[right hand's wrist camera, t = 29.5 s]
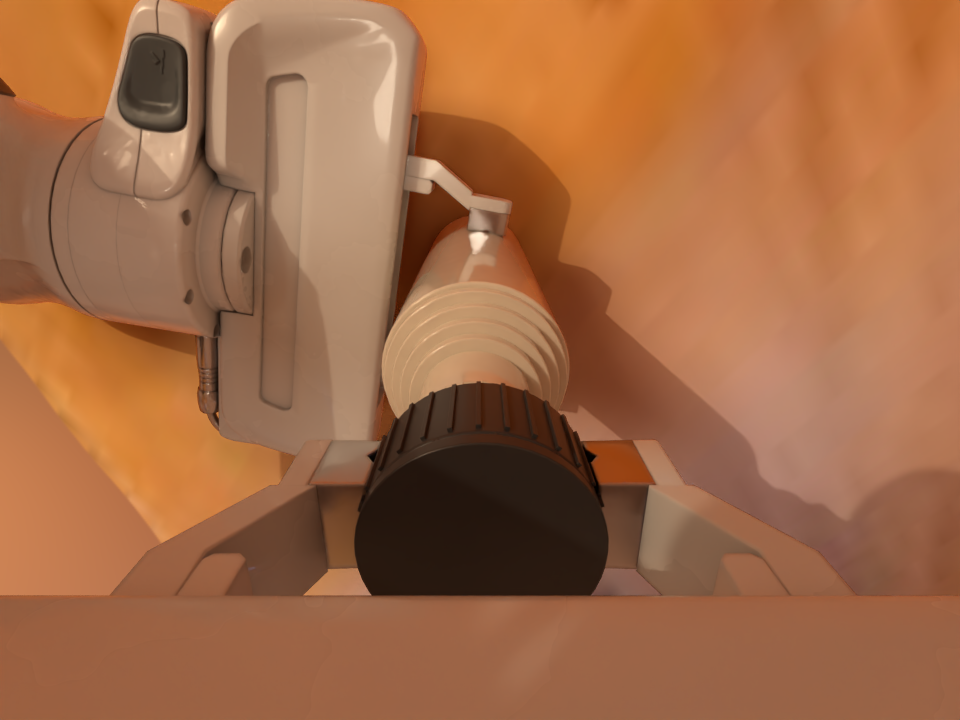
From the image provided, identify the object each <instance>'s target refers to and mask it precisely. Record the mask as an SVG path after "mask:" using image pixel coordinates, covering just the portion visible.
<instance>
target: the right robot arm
mask: <svg viewBox="0 0 960 720" xmlns="http://www.w3.org/2000/svg"><path fill="white" fill-rule="evenodd" d="M380 443H381V441H368V440H332V439H328V440H308V441H306V442H305V443H304V445H303V446H302V448H301V449H300V451H299V453H298V454H297V456H296V457H295V459H294V460H293V462H292V464H291V465H290V467H289V468H288V470H287V472H286V473H285V475H284V476H283V478H282V480H281V481H280V483H279V484H278V485H270V486H268V487H266V488H264V489H262V490H260V491H259V492H257V493H255V494H253V495H251V496H249V497H247V498H246V499H244V500H242V501H240V502H238V503H236V504H234V505H233V506H231V507H229V508H227V509H225V510H223V511H221V512H219V513H218V514H216V515H214V516H212V517H210V518H208V519H206V520H205V521H203V522H201V523H199V524H197V525H195V526H193V527H191V528H190V529H188V530H186V531H184V532H182V533H180V534H178V535H177V536H175V537H173V538H171V539H169V540H167V541H165V542H164V543H162V544H160V545H158V546H156V547H154V548H152V549H150V550H149V551H147V552H146V553H145V554H144V556H143V557H142V558H141V559H140V560H139V561H138V563H137V564H136V565H135V566H134V567H133V569H132V570H131V571H130V572H129V573H128V574H127V576H126V577H125V578H124V579H123V580H122V581H121V583H120V584H119V585H118V586H117V587H116V588H115V590H114V591H113V592H112V593H111V594H110V595H109V596H0V720H960V596H857V595H856V594H855V593H854V591H853V590H852V589H851V588H850V587H849V586H848V585H847V583H846V582H845V581H844V580H843V579H842V578H841V576H840V575H839V574H838V573H837V572H836V571H835V569H834V568H833V567H832V566H831V565H830V564H829V563H828V561H827V560H826V559H825V558H824V557H823V556H822V554H821V553H820V552H819V551H817V550H815V549H813V548H811V547H809V546H807V545H805V544H804V543H802V542H800V541H798V540H796V539H794V538H792V537H790V536H789V535H787V534H785V533H783V532H781V531H779V530H777V529H775V528H774V527H772V526H770V525H768V524H766V523H764V522H762V521H760V520H759V519H757V518H755V517H753V516H751V515H749V514H747V513H745V512H744V511H742V510H740V509H738V508H736V507H734V506H732V505H730V504H729V503H727V502H725V501H723V500H721V499H719V498H717V497H715V496H714V495H712V494H710V493H708V492H706V491H704V490H702V489H700V488H699V487H697V486H695V485H686V484H685V482H684V480H683V479H682V477H681V476H680V474H679V473H678V471H677V470H676V468H675V467H674V465H673V464H672V462H671V460H670V459H669V457H668V456H667V454H666V453H665V451H664V450H663V448H662V447H661V445H660V444H659V442H658V441H656V440H654V439H648V440H611V441H581V444H582V447H583V450H584V452H585V455H586V458H587V461H588V462H589V464H590V469H591V472H592V475H593V477H594V480H595V483H596V486H594V488H595V491H596V494H597V497H602V500H603V503H604V507H602V511H603V514H604V517H605V520H606V524H607V529H608V536H609V550H608V556H607V562H606V566H605V568H624V569H637V570H636V571H637V572H638V573H639V574H640V575H641V576H642V577H643V578H644V579H645V580H646V581H648V582H649V583H650V584H651V585H652V586H653V587H654V588H655V589H656V590H657V591H658V592H659V593H660V594H661V595H662V596H303V595H304V594H305V593H306V592H307V591H308V590H309V589H310V588H311V587H312V586H313V585H314V584H315V583H316V582H317V581H318V580H319V579H320V578H321V577H322V576H323V575H324V574H325V573H326V572H328V570H327V569H340V568H358V567H357V562H356V558H355V551H354V536H355V527H356V524H357V520H358V517H359V514H360V512H358V511H357V510H358V506H359V503H360V501H363V502H364V499H365V496H366V493H367V491H366V490H364V489H365V486H366V483H367V480H368V477H369V475H370V472H371V469H372V466H373V463H374V460H375V457H376V454H377V452H378V449H379V446H380Z"/></svg>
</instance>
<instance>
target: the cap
mask: <svg viewBox="0 0 960 720" xmlns="http://www.w3.org/2000/svg"><path fill="white" fill-rule="evenodd" d="M594 486H596V483H595V480H594V477H593V475H592V472H591V469H590V464H589V462H588V461H587V458H586V455H585V452H584V450H583V447H582V444H581V441H580V438H579V436H578V433H577V431H575V432H573V430H572V429H571V427H570V426H569V424H568V422H567V419H566V416H565V415H564V414H563V415H560V414H559V413H558V412H557V411H556V410H555V409H554V408H553V407H551V406H550V404H549V402H548V401H547V400H545V401H543V400H541V399H540V398H538V397H536V396H535V395H532V394H530V393H529V391H528V390H526V389H524V391H523V390H521V389H517V388H514V387H511V386H507V385H506V384H505V383H501V384H497V383H481V381H476V383H468V384H461V385H457V384H452V386H451V387H448V388H444V389H441V390H439V391H437V392H433V391H432V392H430V393H429V395H428V396H426V397H424V398H423V399H421V400H419V401H418V402H416V403H415V404H414V403H411V404H410V405H409V408H408V409H407V410H406V411H405V412H404V413H403V414H402V415H401V416H400V417H399V418H395V419H394V420H393V423H392V426H391V429H390V431H389V432H388V434H387V436H385V435H383V437H382V440H381V443H380V446H379V449H378V452H377V454H376V457H375V460H374V463H373V466H372V469H371V472H370V475H369V477H368V480H367V483H366V486H365V489H364V490H366V491H367V493H366V496H365V499H364V502H363V501H360V503H359V506H358V510H357V511H358V512H360V514H359V517H358V520H357V524H356V527H355V536H354V551H355V558H356V562H357V567H358V570H359V572H360V575H361V578H362V580H363V582H364V584H365V585H366V587H367V589H368V591H369V592H370V594H371V595H372V596H591V594H592V593H593V591H594V590H595V589H596V587H597V585H598V583H599V581H600V579H601V577H602V574H603V572H604V569H605V566H606V562H607V556H608V550H609V536H608V529H607V524H606V520H605V517H604V514H603V511H602V507H604V503H603V500H602V497H597V494H596V491H595V488H594Z"/></svg>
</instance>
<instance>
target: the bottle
mask: <svg viewBox="0 0 960 720" xmlns="http://www.w3.org/2000/svg"><path fill="white" fill-rule="evenodd" d="M468 219H469V216H465V217H461V218H459V219H456V220H454V221H453V222H451V223H449V224H448V225H447V226H445V227H444V228H443V229H442V230H441V232H440V233H439V234H438V236H437V237H436V239H435V241H434V243H433V245H432V247H431V249H430V251H429V253H428V255H427V257H426V259H425V261H424V263H423V265H422V267H421V269H420V271H419V273H418V275H417V277H416V279H415V281H414V283H413V285H412V288H411V290H410V292H409V294H408V296H407V298H406V300H405V302H404V304H403V306H402V308H401V310H400V312H399V314H398V316H397V318H396V320H395V322H394V324H393V326H392V328H391V330H390V333H389V335H388V337H387V340H386V342H385V346H384V350H383V355H382V365H381V366H382V379H383V385H384V389H385V392H386V395H387V398H388V401H389V404H390V406H391V408H392V410H393V412H394V414H395V415H396V417H397V418H399V417H400V416H401V415H402V414H403V413H404V412H405V411H406V410H407V409H408V408H409V405H410V404H411V403H414V404H415V403H416V402H418V401H419V400H421V399H423V398H424V397H426V396H428V395H429V393H430V392H432V391H433V392H437V391H439V390H441V389H444V388H448V387H451V386H452V384H457V385H461V384H468V383H476V381H481V383H497V384H501V383H505V384H506V385H507V386H511V387H514V388H517V389H521V390H523V391H524V389H526V390H528V391H529V393H530V394H532V395H535V396H536V397H538V398H540V399H541V400H543V401H545V400H547V401H548V402H549V404H550V406H551V407H553V408H554V409H555V410H556V411H557V412H558V411H559V409H560V407H561V404H562V402H563V399H564V396H565V394H566V390H567V386H568V382H569V374H570V360H569V354H568V348H567V345H566V342H565V339H564V336H563V334H562V332H561V330H560V328H559V326H558V324H557V321H556V319H555V317H554V315H553V313H552V311H551V309H550V307H549V305H548V302H547V300H546V298H545V296H544V294H543V292H542V290H541V288H540V286H539V283H538V281H537V279H536V277H535V275H534V273H533V271H532V269H531V266H530V264H529V262H528V260H527V258H526V256H525V254H524V252H523V250H522V247H521V245H520V243H519V241H518V239H517V237H516V236H515V235H514V233H513V232H512V231H511V230H510V229H509V228H507V233H506V236H497V235H494V234H491V233H490V232H489V231H488V230H486V231H484V232H476V231H471V230H467V225H468Z"/></svg>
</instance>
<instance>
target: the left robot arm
mask: <svg viewBox="0 0 960 720" xmlns="http://www.w3.org/2000/svg"><path fill="white" fill-rule="evenodd" d="M426 59H427V49H426V46H425V43H424V41H423V38H422V36H421V35H420V33H419V31H418V30H417V28H416V27H415V25H414V24H413V22H412V21H411V20H410V19H409V17H408V16H407V15H406V14H405V13H404V12H402V11H401V10H399V9H397V8H395V7H392V6H389V5H385V4H381V3H377V2H372V1H365V0H234V1H232V2H230V3H229V4H228V5H226V6H225V7H224V8H223V9H222V10H221V11H220V12H219V14H218V15H215V14H212V13H210V12H208V11H206V10H203V9H200V8H197V7H194V6H192V5H189V4H185V3H181V2H177V1H173V0H140V1H138V2H137V4H136V5H135V7H134V8H133V10H132V13H131V16H130V19H129V23H128V26H127V31H126V35H125V39H124V44H123V48H122V52H121V57H120V61H119V65H118V69H117V73H116V77H115V80H114V84H113V88H112V91H111V95H110V98H109V102H108V105H107V108H106V111H105V115H104V116H99V117H88V118H70V117H65V116H62V115H58V114H56V113H54V112H52V111H50V110H48V109H46V108H44V107H42V106H40V105H37V104H35V103H32V102H30V101H27V100H24V99H20V98H16V97H15V96H16V95H15V94H14V92H13V91H12V90H11V89H10V88H9V86H8V85H7V84H6V83H5V82H4V81H3V80H2V79H1V78H0V303H8V304H34V303H43V302H54V303H59V304H63V305H65V306H68V307H70V308H72V309H74V310H76V311H78V312H80V313H83V314H85V315H88V316H91V317H95V318H98V319H102V320H108V321H114V322H120V323H126V324H132V325H138V326H144V327H150V328H156V329H164V330H169V331H175V332H181V333H187V334H193V335H196V336H195V337H196V359H197V367H198V372H199V387H198V391H197V399H198V405H199V408H200V411H201V412H203V413H205V414H207V415H208V418H209V420H210V422H211V423H212V425H213V426H214V427H215V428H216V429H217V430H218V431H219V433H220V435H221V436H223V437H225V438H227V439H230V440H233V441H239V442H245V443H252V444H259V445H262V446H264V447H267V448H271V449H274V450H277V451H280V452H284V453H287V454H291V455H294V456H297V454H298V453H299V451H300V449H301V448H302V446H303V445H304V443H305V442H306V441H308V440H328V439H332V440H368V441H376V440H377V437H378V433H379V430H380V426H381V419H382V411H383V403H384V395H385V389H384V385H383V379H382V366H381V365H382V355H383V350H384V346H385V342H386V340H387V337H388V335H389V333H390V330H391V328H392V326H393V323H394V315H395V307H396V299H397V291H398V283H399V275H400V267H401V259H402V251H403V243H404V235H405V227H406V219H407V211H408V203H409V195H410V191H412V192H417V193H423V194H429V193H431V192H432V191H433V190H434V189H435V185H436V183H437V184H438V185H439V186H441V187H442V188H443V189H444V190H445V191H446V192H448V193H449V194H450V195H451V196H452V197H453V198H455V199H456V200H457V201H458V202H459V203H460V204H462V205H463V206H464V207H465V208H466V209H468V210H469V209H470V212H469V219H468V225H467V230H471V231H476V232H484V231H486V230H488V231H489V232H490V233H491V234H494V235H497V236H506V233H507V228H508V223H509V219H510V214H511V209H512V204H513V202H512V201H510V200H507V199H504V198H498V197H493V196H488V195H483V194H478V193H473V189H472V188H470V187H469V186H468V185H467V184H466V183H465V182H464V181H463V180H461V179H460V178H459V177H458V176H457V175H456V174H455V173H454V172H452V171H451V170H450V169H449V168H448V167H447V166H446V165H445V164H443V163H442V162H441V161H440V160H437V159H432V158H427V157H421V156H416V155H415V147H416V139H417V131H418V123H419V115H420V107H421V99H422V91H423V83H424V75H425V67H426ZM217 412H219V418H218V417H217V414H216V413H217Z"/></svg>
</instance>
